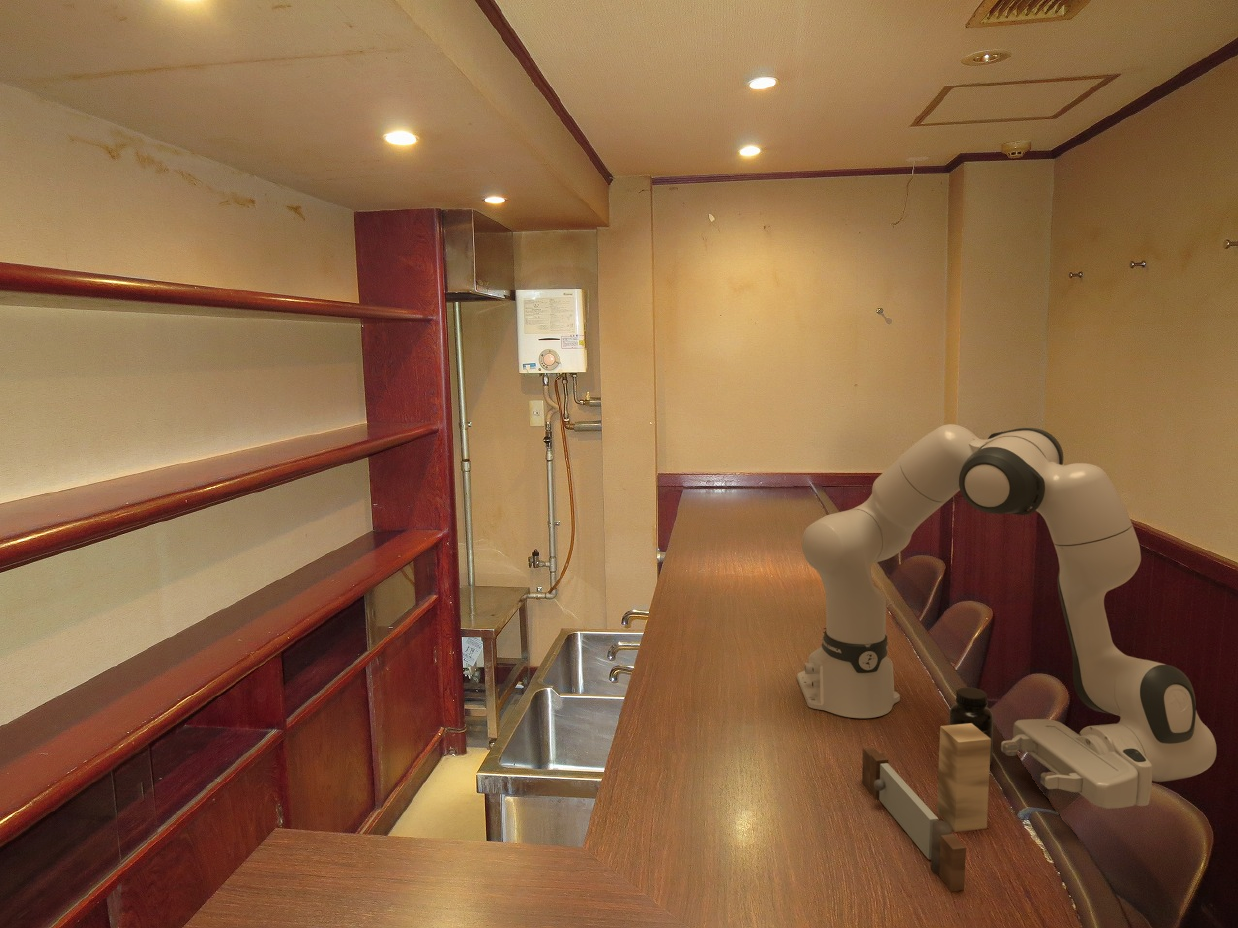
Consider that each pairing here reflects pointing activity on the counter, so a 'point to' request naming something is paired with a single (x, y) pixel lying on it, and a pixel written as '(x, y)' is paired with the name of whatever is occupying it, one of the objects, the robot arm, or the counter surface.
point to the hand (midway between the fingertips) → (1022, 764)
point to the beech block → (963, 777)
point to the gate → (906, 808)
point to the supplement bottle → (973, 711)
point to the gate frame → (945, 845)
